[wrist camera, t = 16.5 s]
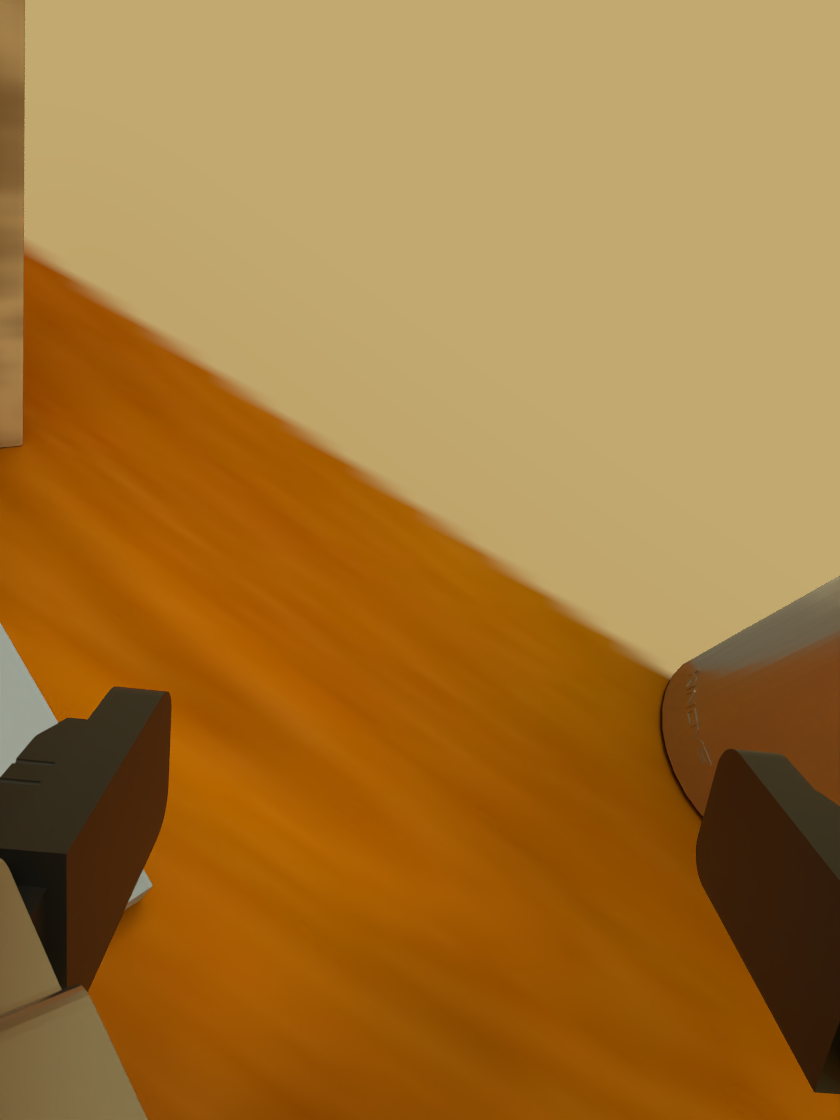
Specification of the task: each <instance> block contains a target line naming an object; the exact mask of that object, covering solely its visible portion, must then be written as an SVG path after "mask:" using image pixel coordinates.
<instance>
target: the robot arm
mask: <svg viewBox="0 0 840 1120" xmlns="http://www.w3.org/2000/svg"><path fill="white" fill-rule="evenodd" d="M662 729H663V734H664V740H665V745H666V750H667V753H668V756H669V759H670V762H671V764H672V767H673V770H674V773H675V775H676V777H677V778H678V780H679V782H680V784H681V786H682V788H683V790H684V792H685V794H686V795H687V796H688V798H689V799H690V801H691V802H692V803H693V805H694V806H695V807H696V809H697V810H698V812H699V813H700V814H701V815H702V816H703V820H702V823H701V827H700V831H699V835H698V839H697V845H696V863H697V870H698V875H699V878H700V881H701V883H702V886H703V888H704V889H705V891H706V893H707V895H708V897H709V899H710V901H711V902H712V904H713V906H714V908H715V910H716V912H717V913H718V915H719V917H720V919H721V921H722V923H723V925H724V926H725V928H726V930H727V932H728V934H729V936H730V937H731V939H732V941H733V943H734V945H735V947H736V949H737V950H738V952H739V954H740V956H741V958H742V960H743V961H744V963H745V965H746V967H747V969H748V971H749V973H750V974H751V976H752V978H753V980H754V982H755V984H756V985H757V987H758V989H759V991H760V993H761V995H762V997H763V998H764V1000H765V1002H766V1004H767V1006H768V1008H769V1009H770V1011H771V1013H772V1015H773V1017H774V1019H775V1021H776V1022H777V1024H778V1026H779V1028H780V1030H781V1032H782V1033H783V1035H784V1037H785V1039H786V1041H787V1043H788V1045H789V1046H790V1048H791V1050H792V1052H793V1054H794V1056H795V1057H796V1059H797V1061H798V1063H799V1065H800V1067H801V1069H802V1070H803V1072H804V1074H805V1076H806V1078H807V1080H808V1081H809V1083H810V1085H811V1087H812V1089H813V1091H814V1092H819V1093H833V1094H840V576H839V577H837V578H835V579H833V580H831V581H830V582H828V583H826V584H824V585H823V586H821V587H819V588H817V589H816V590H814V591H812V592H810V593H808V594H807V595H805V596H803V597H801V598H799V599H798V600H796V601H794V602H792V603H791V604H789V605H787V606H785V607H783V608H782V609H780V610H778V611H776V612H775V613H773V614H771V615H769V616H768V617H766V618H764V619H762V620H761V621H759V622H757V623H755V624H753V625H752V626H750V627H748V628H746V629H744V630H742V631H741V632H739V633H737V634H735V635H734V636H732V637H730V638H728V639H727V640H725V641H723V642H721V643H720V644H718V645H717V646H714V647H713V648H711V649H709V650H708V651H706V652H704V653H702V654H701V655H699V656H697V657H695V658H694V659H692V660H690V661H688V662H687V663H685V664H683V665H682V666H681V667H680V668H679V669H678V670H677V672H676V673H675V674H674V675H673V676H672V678H671V680H670V682H669V685H668V687H667V689H666V692H665V697H664V702H663V707H662ZM170 731H171V697H170V694H169V692H166V691H156V690H145V689H135V688H125V687H113V688H112V689H111V690H110V691H109V692H108V693H107V695H106V696H105V697H104V699H103V700H102V701H101V703H100V704H99V705H98V707H97V708H96V709H95V711H94V712H93V713H92V715H91V716H90V717H89V719H88V720H86V719H76V718H66V719H65V720H63V721H61V722H59V723H57V724H56V725H54V726H52V727H50V728H48V729H47V730H45V731H43V732H41V733H39V734H38V735H36V736H35V737H34V738H33V739H32V740H31V742H30V743H29V744H28V745H27V746H26V748H25V749H24V750H23V751H22V752H21V753H20V755H19V756H18V757H17V758H16V762H15V763H12V764H11V765H10V766H9V767H8V769H7V770H6V771H5V772H4V773H3V775H2V776H1V777H0V1120H148V1119H147V1117H146V1115H145V1113H144V1111H143V1109H142V1106H141V1104H140V1102H139V1100H138V1098H137V1096H136V1094H135V1091H134V1089H133V1087H132V1085H131V1083H130V1081H129V1079H128V1077H127V1074H126V1072H125V1070H124V1068H123V1066H122V1064H121V1062H120V1059H119V1057H118V1055H117V1053H116V1051H115V1049H114V1047H113V1044H112V1042H111V1040H110V1038H109V1036H108V1034H107V1032H106V1029H105V1027H104V1025H103V1023H102V1021H101V1019H100V1017H99V1014H98V1012H97V1010H96V1008H95V1006H94V1004H93V1002H92V1000H91V998H90V996H89V994H88V993H87V992H88V990H89V988H90V986H91V983H92V981H93V979H94V977H95V974H96V972H97V970H98V968H99V966H100V963H101V961H102V959H103V957H104V955H105V952H106V950H107V948H108V946H109V943H110V941H111V939H112V937H113V935H114V932H115V930H116V928H117V926H118V924H119V921H120V919H121V917H122V915H123V913H124V910H125V908H126V906H127V904H128V901H129V899H130V897H131V895H132V893H133V890H134V888H135V886H136V884H137V882H138V879H139V877H140V875H141V873H142V870H143V868H144V866H145V864H146V862H147V859H148V857H149V855H150V853H151V851H152V848H153V846H154V844H155V842H156V839H157V837H158V835H159V832H160V829H161V826H162V822H163V818H164V814H165V809H166V803H167V796H168V781H169V756H170Z"/></svg>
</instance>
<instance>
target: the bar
mask: <svg viewBox="0 0 840 1120" xmlns="http://www.w3.org/2000/svg"><path fill="white" fill-rule="evenodd" d="M57 723H58V721H57V720H56V718H55V716H54V715H53V713H52V711H51V709H50V708H49V706H48V704H47V703H46V701H45V699H44V697H43V696H42V694H41V692H40V690H39V689H38V687H37V685H36V684H35V682H34V680H33V678H32V677H31V675H30V673H29V672H28V670H27V668H26V666H25V665H24V663H23V661H22V659H21V658H20V656H19V654H18V653H17V651H16V649H15V647H14V646H13V644H12V642H11V641H10V639H9V637H8V635H7V634H6V632H5V630H4V628H3V627H2V625H1V623H0V777H1V776H2V775H3V773H4V772H5V771H6V770H7V769H8V767H9V766H10V765H11V764H12V763H15V762H16V758H17V757H18V756H19V755H20V753H21V752H22V751H23V750H24V749H25V748H26V746H27V745H28V744H29V743H30V742H31V740H32V739H33V738H34V737H35V736H36V735H38V734H39V733H41V732H43V731H45V730H47V729H48V728H50V727H52V726H54V725H56V724H57ZM152 886H153V885H152V883H151V882H150V880H149V878H148V876H147V875H146V873H145V871H144V870H142V873H141V875H140V877H139V879H138V882H137V884H136V886H135V888H134V890H133V893H132V895H131V897H130V899H129V901H128V904H127V906H126V908H125V910H126V909H128V908H129V907H131V906H132V905H134V904H135V903H136V902H138V901H139V900H141V899H142V898H143V896H144V895H145V894H146V893H147V892H148V891H149V890H150V888H151V887H152ZM125 910H124V911H125Z"/></svg>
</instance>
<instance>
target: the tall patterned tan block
mask: <svg viewBox="0 0 840 1120" xmlns="http://www.w3.org/2000/svg"><path fill="white" fill-rule="evenodd" d="M24 66H25V0H0V448H1V447H11V446H21V445H23V279H24V84H25V83H24V80H25V75H24V74H25V71H24V70H25V67H24Z"/></svg>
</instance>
